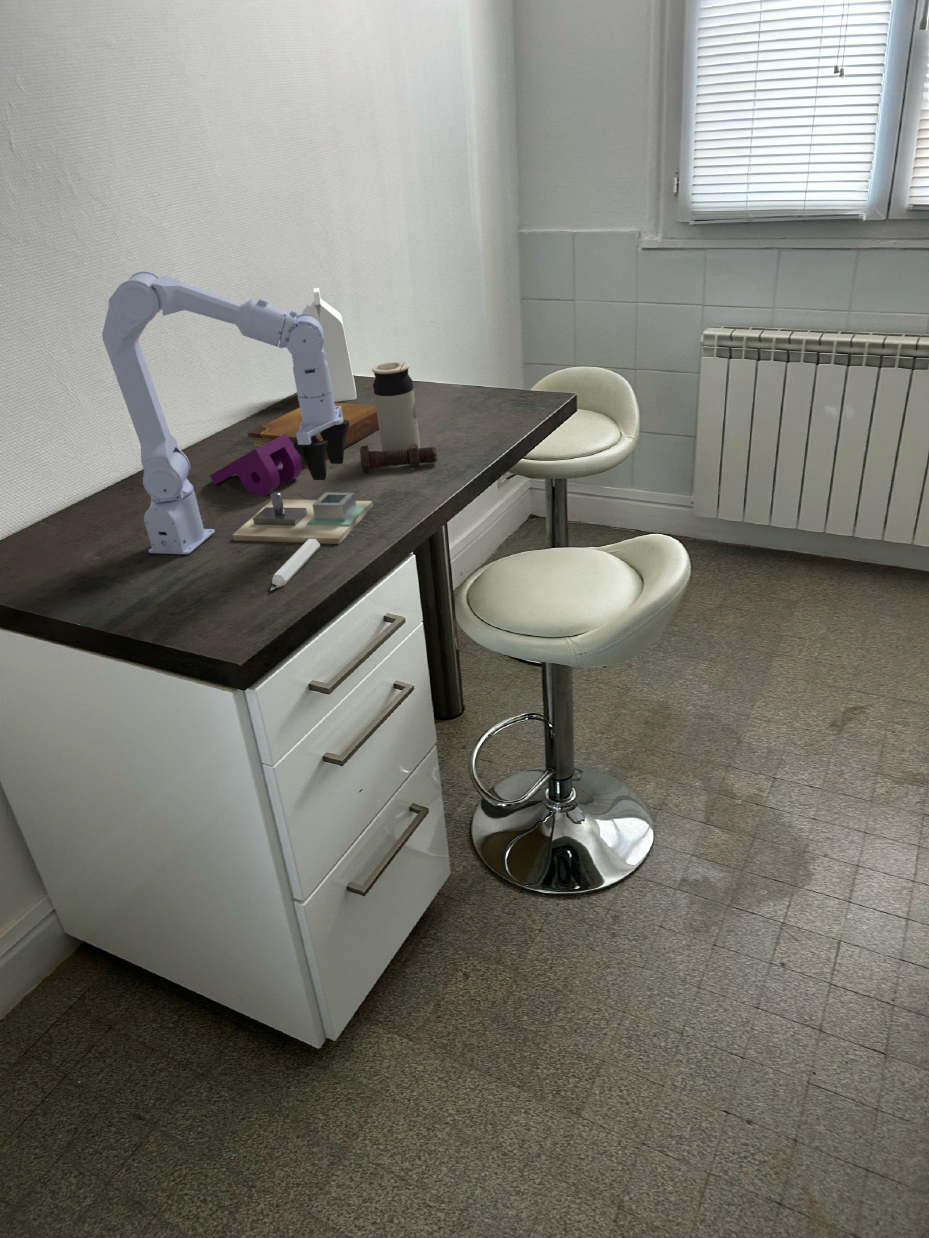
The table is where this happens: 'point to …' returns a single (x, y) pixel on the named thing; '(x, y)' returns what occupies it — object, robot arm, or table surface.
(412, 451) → the bolt
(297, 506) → the board
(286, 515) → the peg base
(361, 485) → the table surface
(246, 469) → the mounting bracket
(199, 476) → the table surface
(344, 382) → the milk
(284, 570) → the marker
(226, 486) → the table surface
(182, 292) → the robot arm
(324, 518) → the square hollow frame
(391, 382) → the travel mug
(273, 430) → the diary
